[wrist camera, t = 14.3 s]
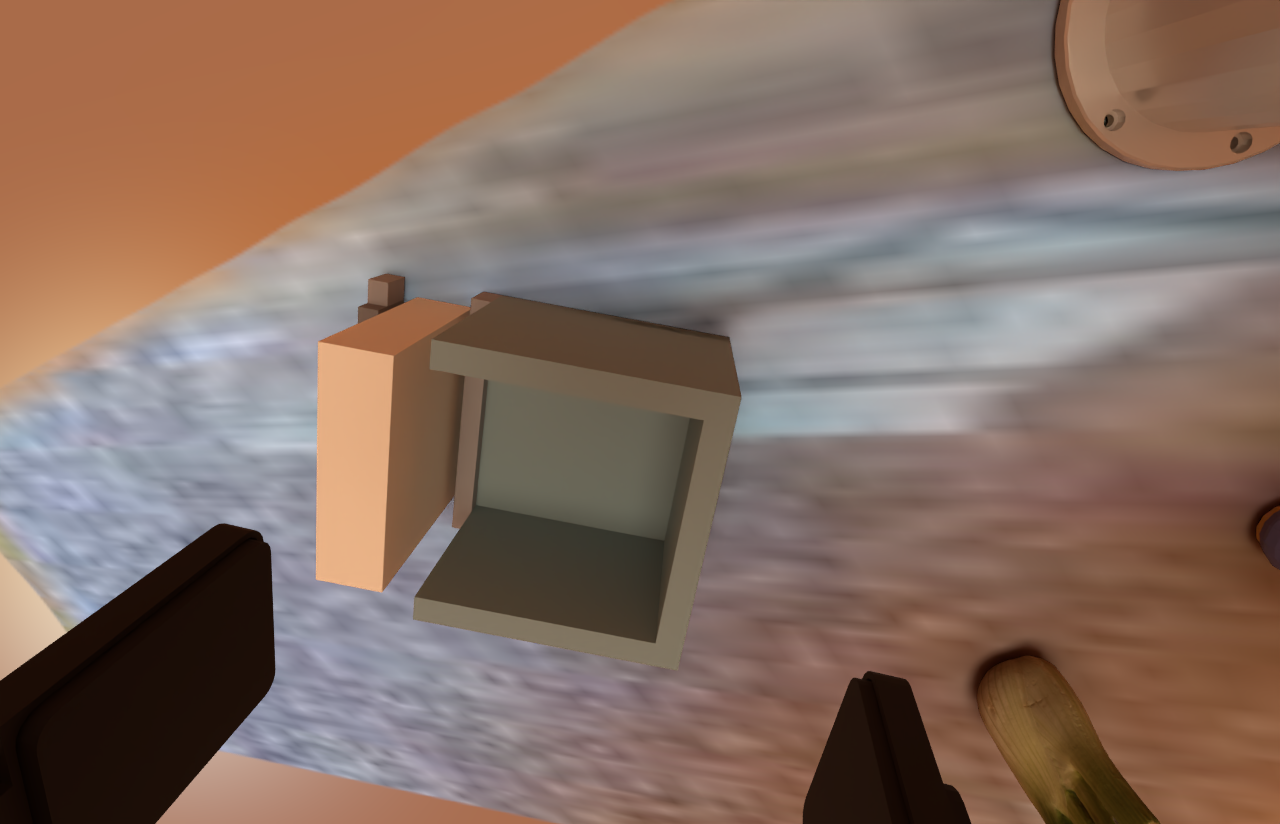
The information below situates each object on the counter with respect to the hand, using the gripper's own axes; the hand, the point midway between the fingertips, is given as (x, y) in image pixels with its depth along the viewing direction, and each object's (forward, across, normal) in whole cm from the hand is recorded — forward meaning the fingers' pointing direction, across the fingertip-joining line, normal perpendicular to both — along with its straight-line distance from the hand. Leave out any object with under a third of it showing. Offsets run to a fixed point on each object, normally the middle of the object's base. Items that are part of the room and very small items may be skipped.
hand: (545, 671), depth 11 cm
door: (+25, +12, +7) cm, 29 cm away
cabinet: (+25, +6, +7) cm, 27 cm away
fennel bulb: (+27, -24, +18) cm, 40 cm away
